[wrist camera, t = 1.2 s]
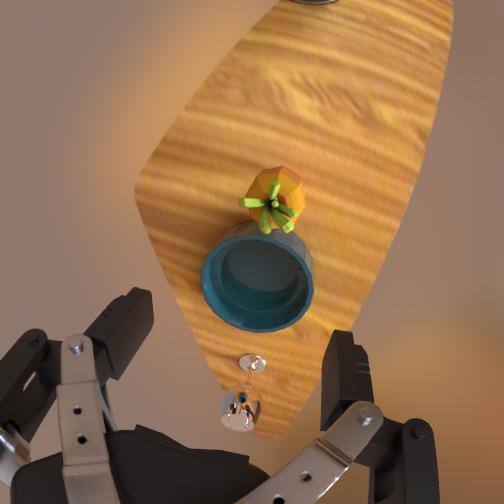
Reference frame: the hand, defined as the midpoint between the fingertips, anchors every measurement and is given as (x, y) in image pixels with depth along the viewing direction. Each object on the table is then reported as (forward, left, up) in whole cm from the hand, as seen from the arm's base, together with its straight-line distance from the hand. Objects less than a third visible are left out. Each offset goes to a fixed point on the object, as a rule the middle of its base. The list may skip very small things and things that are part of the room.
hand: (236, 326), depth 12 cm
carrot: (-2, 0, -24) cm, 24 cm away
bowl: (+10, -1, -24) cm, 26 cm away
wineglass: (+28, 0, -24) cm, 37 cm away
